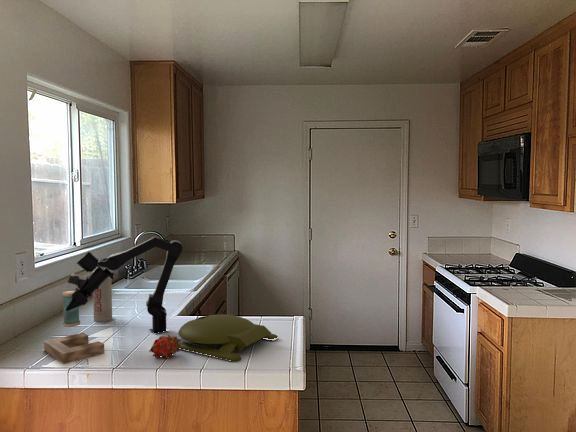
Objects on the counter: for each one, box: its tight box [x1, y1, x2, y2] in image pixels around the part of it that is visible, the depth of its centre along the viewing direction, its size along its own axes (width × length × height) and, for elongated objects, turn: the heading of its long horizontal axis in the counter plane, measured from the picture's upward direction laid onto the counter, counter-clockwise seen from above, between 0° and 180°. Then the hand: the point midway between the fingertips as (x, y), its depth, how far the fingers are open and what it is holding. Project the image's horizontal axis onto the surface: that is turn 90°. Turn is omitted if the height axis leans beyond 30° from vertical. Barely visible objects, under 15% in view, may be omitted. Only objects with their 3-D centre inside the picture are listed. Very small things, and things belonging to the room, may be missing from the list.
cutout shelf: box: [43, 332, 105, 364], centre depth 183 cm, size 15×19×4 cm
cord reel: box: [61, 290, 81, 328], centre depth 198 cm, size 6×6×13 cm
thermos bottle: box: [91, 257, 113, 323], centre depth 225 cm, size 8×8×28 cm
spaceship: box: [178, 314, 279, 362], centre depth 194 cm, size 35×31×10 cm
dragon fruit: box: [149, 334, 181, 359], centre depth 179 cm, size 8×8×12 cm
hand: (67, 308), depth 198 cm, fingers closed on cord reel, 6 cm apart
